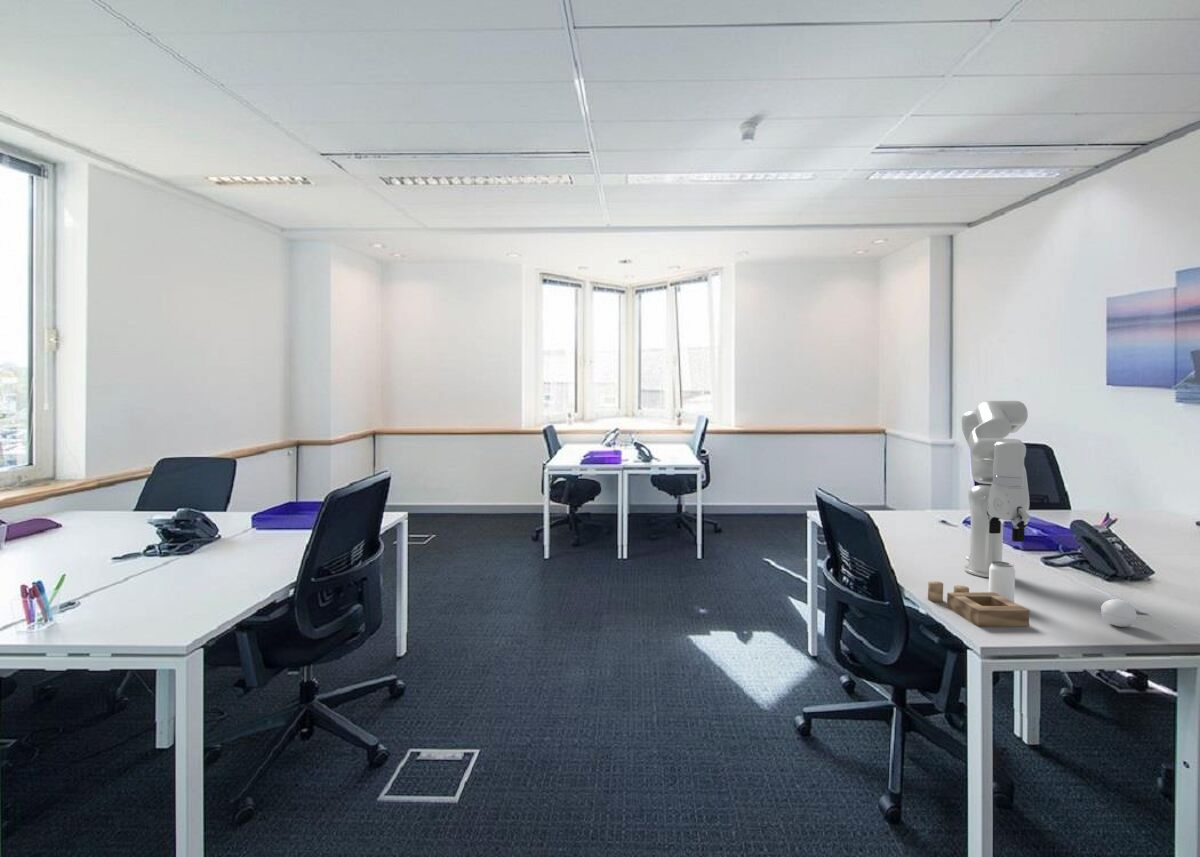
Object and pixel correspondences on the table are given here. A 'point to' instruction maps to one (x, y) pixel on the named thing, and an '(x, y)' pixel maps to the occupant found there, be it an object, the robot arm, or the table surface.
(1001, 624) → the wooden rectangular frame
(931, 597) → the peg mid
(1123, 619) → the white rounded egg-shaped part
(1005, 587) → the can
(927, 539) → the table surface
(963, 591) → the peg short
